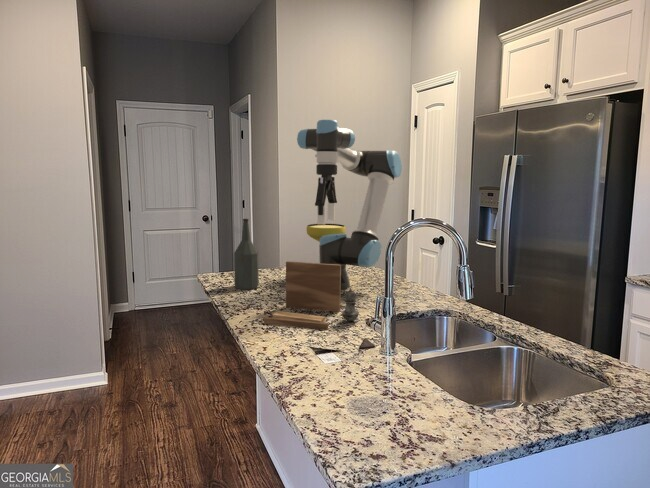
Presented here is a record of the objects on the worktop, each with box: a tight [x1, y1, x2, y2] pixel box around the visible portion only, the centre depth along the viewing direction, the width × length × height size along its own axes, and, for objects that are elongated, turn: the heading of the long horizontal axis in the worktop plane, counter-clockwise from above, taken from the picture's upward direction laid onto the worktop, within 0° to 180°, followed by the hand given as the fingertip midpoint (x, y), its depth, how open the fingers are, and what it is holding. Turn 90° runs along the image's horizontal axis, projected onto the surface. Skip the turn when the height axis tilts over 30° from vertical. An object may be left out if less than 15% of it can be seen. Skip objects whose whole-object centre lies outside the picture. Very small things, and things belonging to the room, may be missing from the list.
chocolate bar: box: [309, 337, 376, 355], centre depth 142 cm, size 9×1×18 cm
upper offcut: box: [272, 310, 327, 323], centre depth 159 cm, size 4×17×2 cm, turn 69°
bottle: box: [233, 218, 260, 291], centre depth 207 cm, size 10×10×30 cm
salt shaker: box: [340, 287, 360, 323], centre depth 159 cm, size 6×6×12 cm
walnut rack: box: [263, 260, 342, 331], centre depth 163 cm, size 21×22×18 cm
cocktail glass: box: [306, 223, 346, 243], centre depth 226 cm, size 18×18×25 cm
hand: (326, 222), depth 178 cm, fingers open, 13 cm apart
